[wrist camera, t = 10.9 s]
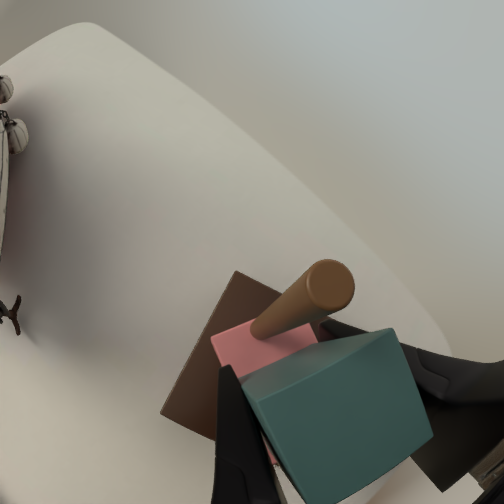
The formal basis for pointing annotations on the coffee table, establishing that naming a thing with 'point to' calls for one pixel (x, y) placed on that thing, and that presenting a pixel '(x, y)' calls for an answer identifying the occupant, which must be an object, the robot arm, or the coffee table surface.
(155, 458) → the coffee table surface
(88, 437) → the coffee table surface
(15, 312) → the toy boat
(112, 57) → the coffee table surface
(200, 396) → the walnut block
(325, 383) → the peg stacking toy
